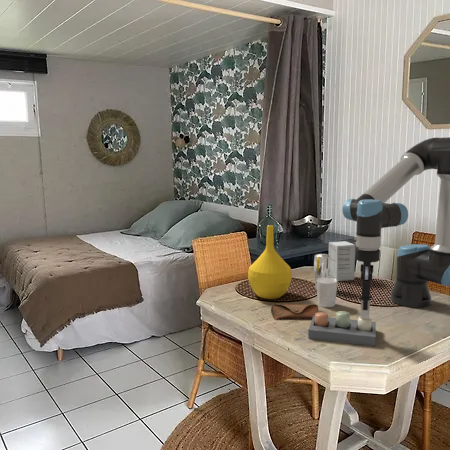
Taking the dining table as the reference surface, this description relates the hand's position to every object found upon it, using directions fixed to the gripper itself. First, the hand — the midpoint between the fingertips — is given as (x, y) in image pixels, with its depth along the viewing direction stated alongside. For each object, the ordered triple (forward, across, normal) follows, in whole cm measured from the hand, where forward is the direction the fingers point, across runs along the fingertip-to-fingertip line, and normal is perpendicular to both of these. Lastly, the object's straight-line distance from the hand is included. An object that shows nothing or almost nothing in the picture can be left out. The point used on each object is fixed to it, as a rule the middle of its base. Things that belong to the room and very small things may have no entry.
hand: (364, 318), depth 153 cm
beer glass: (+7, -48, -19) cm, 52 cm away
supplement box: (+7, -67, -12) cm, 68 cm away
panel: (+7, 0, -7) cm, 10 cm away
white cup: (+7, -28, -15) cm, 33 cm away
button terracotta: (+4, 0, -14) cm, 15 cm away
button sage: (+3, 0, -7) cm, 8 cm away
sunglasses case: (+7, -13, -24) cm, 29 cm away
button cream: (+4, 0, 0) cm, 4 cm away
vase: (+7, -33, -39) cm, 52 cm away
